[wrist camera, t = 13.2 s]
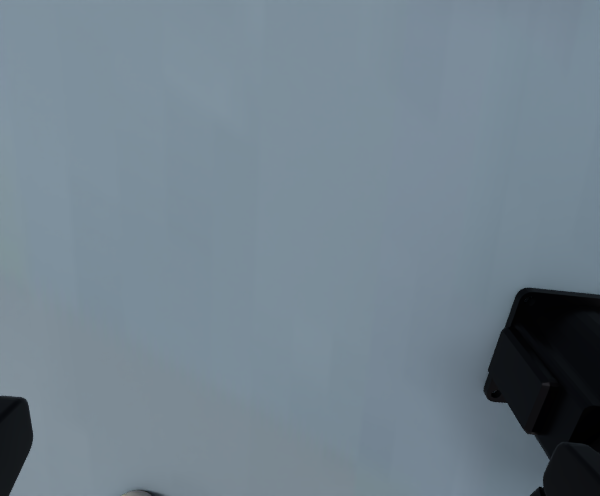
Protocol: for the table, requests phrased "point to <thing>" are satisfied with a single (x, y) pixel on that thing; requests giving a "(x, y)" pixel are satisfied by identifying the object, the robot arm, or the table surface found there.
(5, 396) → the robot arm
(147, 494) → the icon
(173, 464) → the table surface
